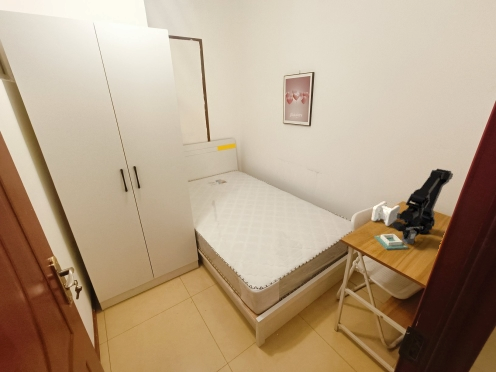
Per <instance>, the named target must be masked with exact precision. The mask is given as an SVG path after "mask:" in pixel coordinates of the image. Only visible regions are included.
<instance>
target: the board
mask: <svg viewBox="0 0 496 372" xmlns="http://www.w3.org/2000/svg"><path fill="white" fill-rule="evenodd" d="M381 235H382V234H380V235H378V234H377V235H374V236H373V237H374V239H375V240H376V241H377V242H379V244H380V245H381V246H382V247H383V248H384V249H385V250H386V251H391V250H408V249H409V246H408V245H407V244H406V243H405V242H404V241H402V245H393V246H388V245H387V244H386V243H385V242H384V241H383V240H382V239H381V238H380V237H381ZM386 239H387V240H388V241H395V240H394V239H393V238H386Z"/></svg>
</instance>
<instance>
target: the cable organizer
mask: <svg viewBox="0 0 496 372" xmlns="http://www.w3.org/2000/svg"><path fill="white" fill-rule="evenodd" d="M387 205H388V202H387V201H384V200H383V201H381V202H379V203H377V205H374V206H373V207H372V214H371V221H372V222H376V221H380V220H383V223H384V225H385V226H387V227H389V226H390V225H392V224H393V223H394V222H397V220H398V219H397V213H399V212H400V210H401V206H400V205H399V204H397V205H395V206H393V207H392V208H391V207H389V206H387Z"/></svg>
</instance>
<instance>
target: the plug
mask: <svg viewBox="0 0 496 372" xmlns="http://www.w3.org/2000/svg"><path fill="white" fill-rule="evenodd" d="M409 231H410V233H409V235H408V236H407V238H406V239H404V237H403V236H402V238H401V241H402V242H403V243H404V244H405V245H413V244H414V243H415V240H416V237H417V236H416V233H417V231H415V230H414V229H413V228H409Z"/></svg>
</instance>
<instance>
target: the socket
mask: <svg viewBox="0 0 496 372" xmlns="http://www.w3.org/2000/svg"><path fill="white" fill-rule="evenodd" d="M380 235H381V237H380V238H381V239H382V240H383V241H384V242H385V243H386V244H387V245H388V246H393V245H402V242H403V240H402V239H400V238H399V237H398V236H397V235H396V234H395V233H389V234H388V233H385V234H380ZM386 238H393V239H394V240H395V241H388V240H387V239H386Z"/></svg>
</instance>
